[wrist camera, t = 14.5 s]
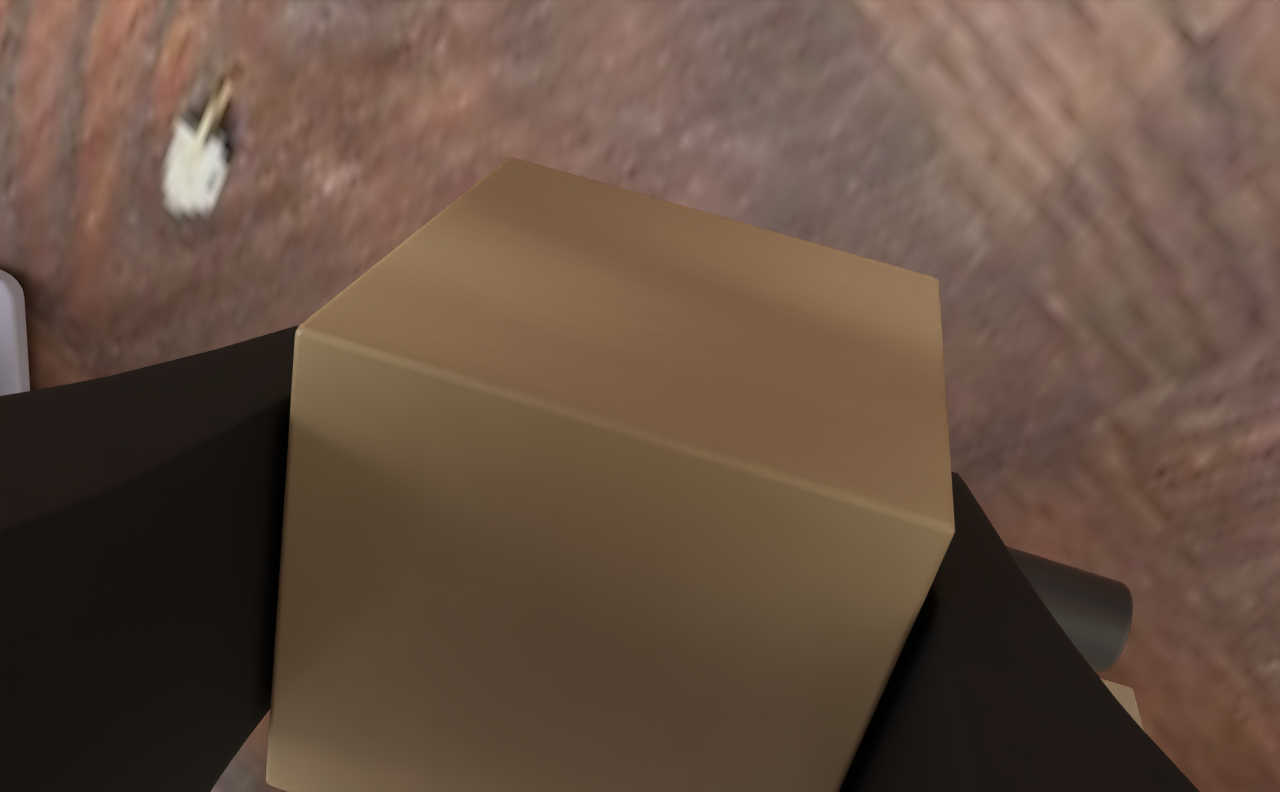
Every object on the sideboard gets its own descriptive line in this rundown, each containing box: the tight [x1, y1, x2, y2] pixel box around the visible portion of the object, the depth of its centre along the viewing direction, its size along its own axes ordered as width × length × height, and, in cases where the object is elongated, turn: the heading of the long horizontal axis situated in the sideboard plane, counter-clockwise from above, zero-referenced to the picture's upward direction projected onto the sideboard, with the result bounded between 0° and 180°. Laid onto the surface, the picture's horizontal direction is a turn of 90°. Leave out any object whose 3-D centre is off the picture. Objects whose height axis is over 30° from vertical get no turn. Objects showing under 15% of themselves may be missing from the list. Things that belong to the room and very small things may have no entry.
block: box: [266, 158, 955, 792], centre depth 10 cm, size 4×4×4 cm
